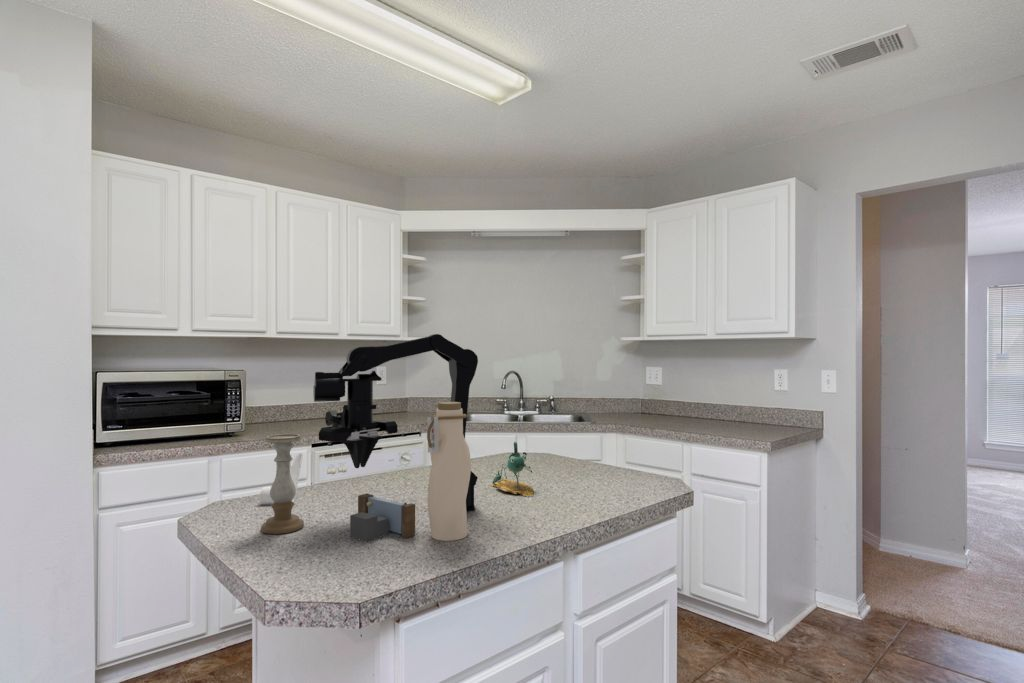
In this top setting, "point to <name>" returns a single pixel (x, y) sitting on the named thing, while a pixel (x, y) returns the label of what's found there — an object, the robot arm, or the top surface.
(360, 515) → the dark grey stepped block
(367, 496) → the frame
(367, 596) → the top surface
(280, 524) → the candle holder
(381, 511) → the door
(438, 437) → the water bottle
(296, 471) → the plastic part
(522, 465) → the frog figurine
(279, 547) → the top surface
